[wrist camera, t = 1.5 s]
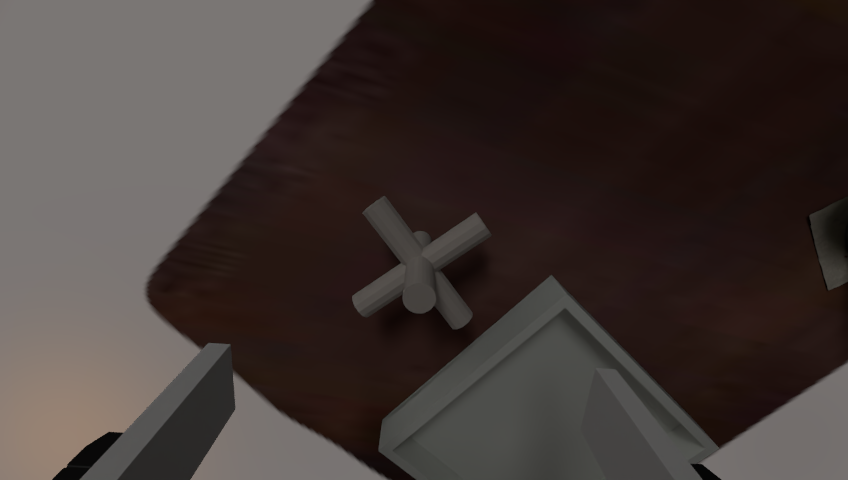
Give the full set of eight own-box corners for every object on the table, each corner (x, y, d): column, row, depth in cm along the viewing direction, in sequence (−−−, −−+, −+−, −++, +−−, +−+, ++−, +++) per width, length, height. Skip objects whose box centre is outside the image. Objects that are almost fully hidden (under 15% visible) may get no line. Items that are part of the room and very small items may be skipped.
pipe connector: (507, 256, 31) (546, 317, 21) (406, 321, 33) (399, 405, 23) (436, 151, 29) (443, 168, 19) (330, 227, 30) (287, 278, 21)
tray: (551, 275, 31) (566, 293, 28) (691, 417, 36) (719, 448, 32) (382, 419, 36) (378, 450, 32) (525, 531, 40) (535, 569, 37)
